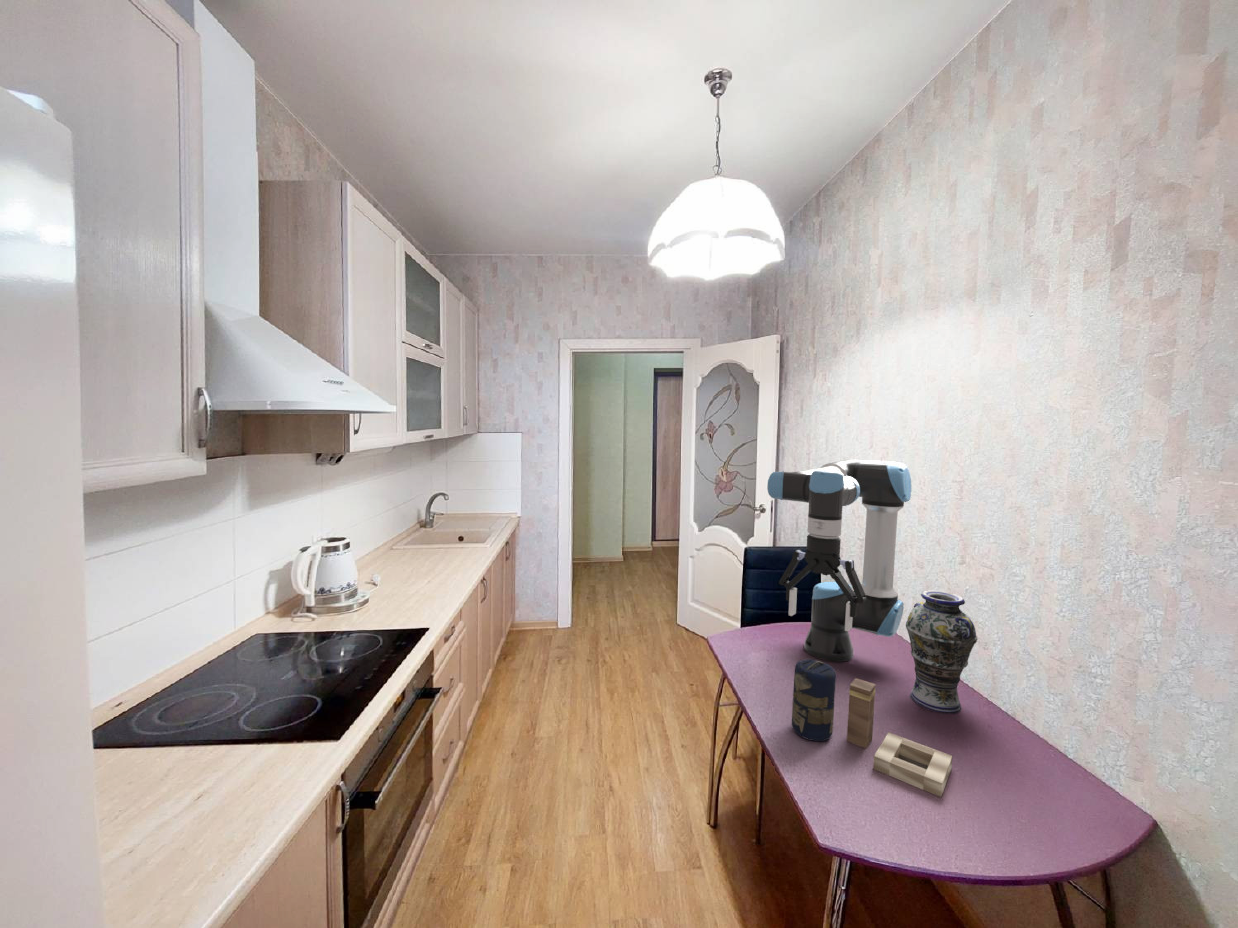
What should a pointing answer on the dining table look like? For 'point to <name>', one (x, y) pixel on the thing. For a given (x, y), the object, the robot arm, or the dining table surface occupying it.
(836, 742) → the dining table surface
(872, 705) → the block
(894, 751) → the socket block
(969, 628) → the vase
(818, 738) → the blue patterned canister
